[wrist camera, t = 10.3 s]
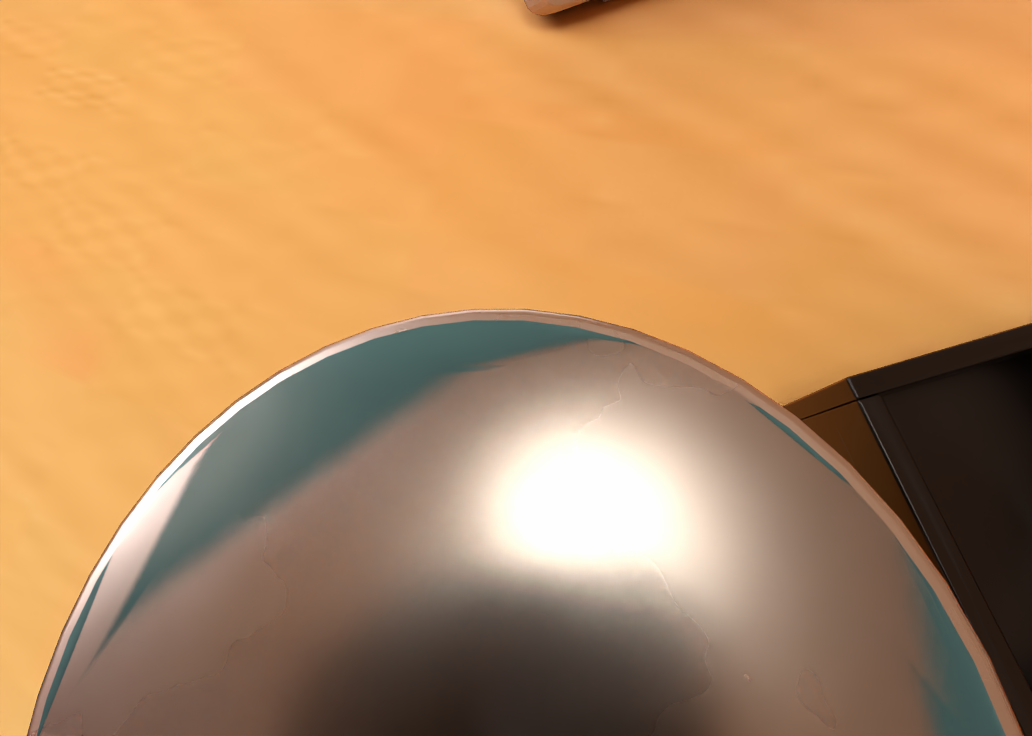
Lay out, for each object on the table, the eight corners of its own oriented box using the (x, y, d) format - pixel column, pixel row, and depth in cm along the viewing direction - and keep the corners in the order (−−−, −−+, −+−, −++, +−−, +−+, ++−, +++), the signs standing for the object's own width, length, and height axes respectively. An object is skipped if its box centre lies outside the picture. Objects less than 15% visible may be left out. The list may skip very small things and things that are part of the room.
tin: (698, 641, 14) (1463, 1576, 2) (488, 698, 14) (-40, 1807, 2) (625, 430, 16) (764, 200, 4) (440, 485, 16) (11, 439, 4)
